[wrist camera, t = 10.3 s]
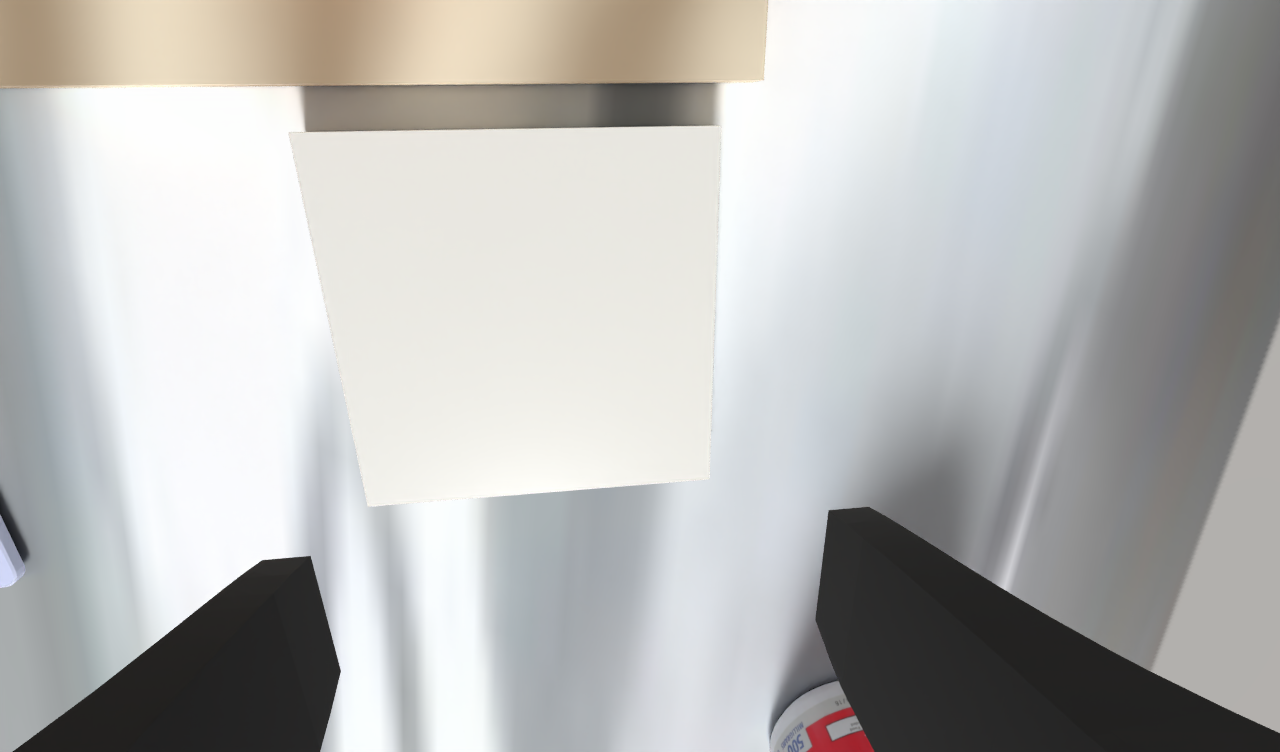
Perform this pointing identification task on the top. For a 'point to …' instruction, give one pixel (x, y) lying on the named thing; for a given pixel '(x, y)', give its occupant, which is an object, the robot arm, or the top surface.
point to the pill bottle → (820, 724)
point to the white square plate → (518, 303)
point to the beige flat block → (378, 42)
